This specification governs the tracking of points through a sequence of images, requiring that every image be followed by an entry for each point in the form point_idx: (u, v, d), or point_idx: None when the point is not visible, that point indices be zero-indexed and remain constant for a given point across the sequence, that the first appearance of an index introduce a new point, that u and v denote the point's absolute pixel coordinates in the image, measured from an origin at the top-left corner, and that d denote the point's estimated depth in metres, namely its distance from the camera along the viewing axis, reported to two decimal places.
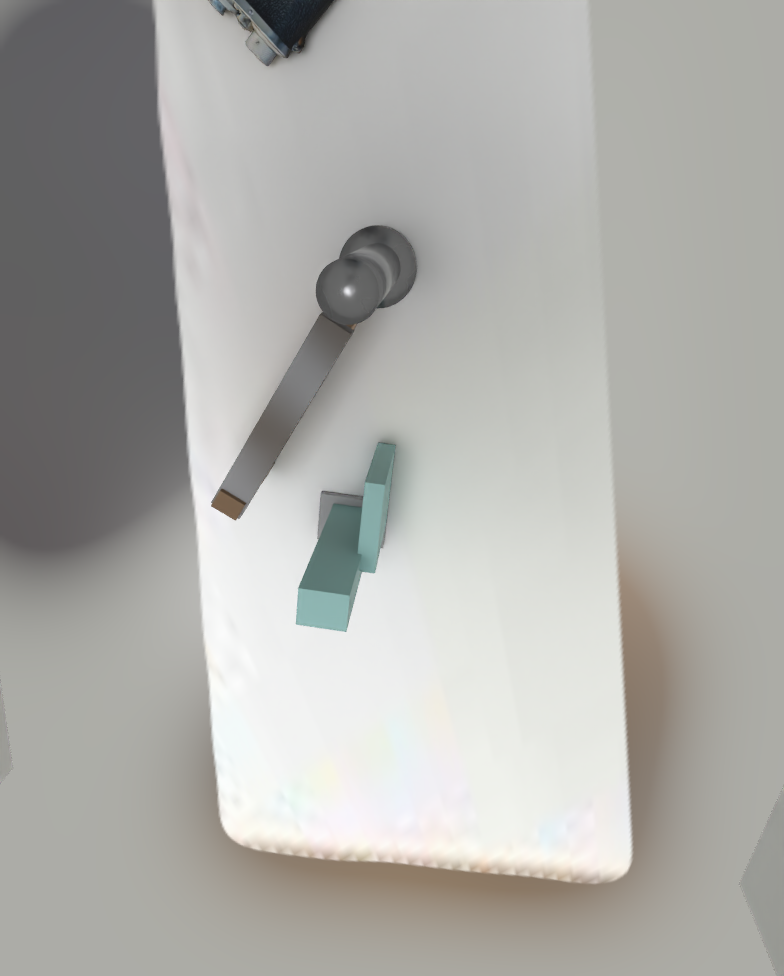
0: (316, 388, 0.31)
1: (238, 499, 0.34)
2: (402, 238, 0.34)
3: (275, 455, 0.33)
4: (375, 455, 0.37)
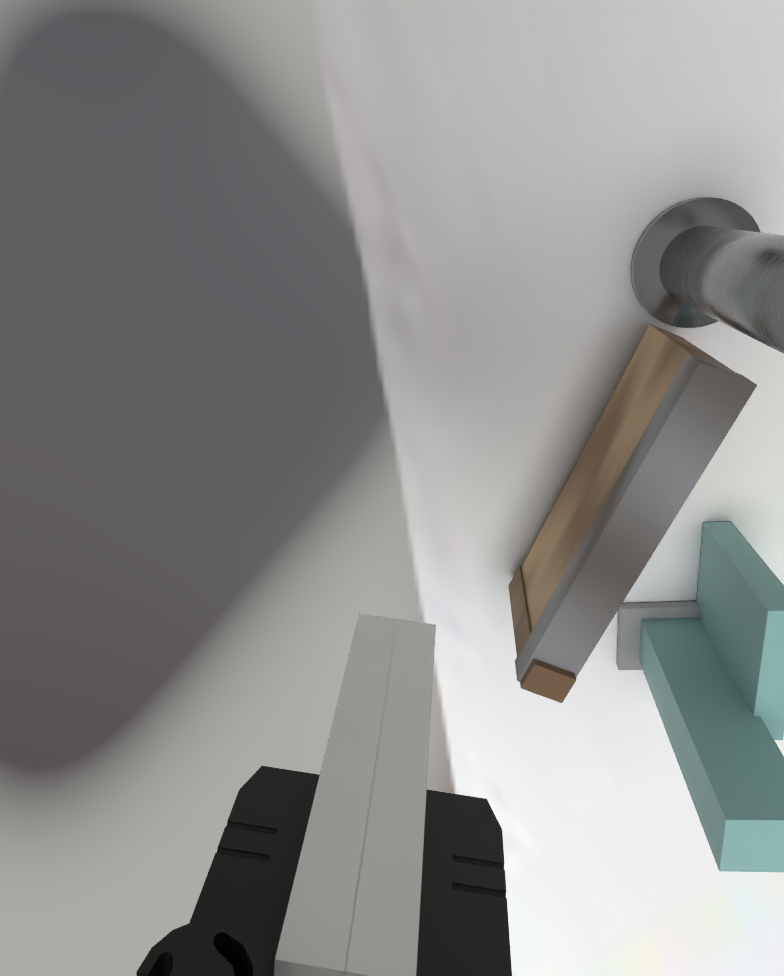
0: (693, 483, 0.19)
1: (563, 671, 0.21)
2: (739, 209, 0.21)
3: (621, 597, 0.20)
4: (725, 549, 0.24)
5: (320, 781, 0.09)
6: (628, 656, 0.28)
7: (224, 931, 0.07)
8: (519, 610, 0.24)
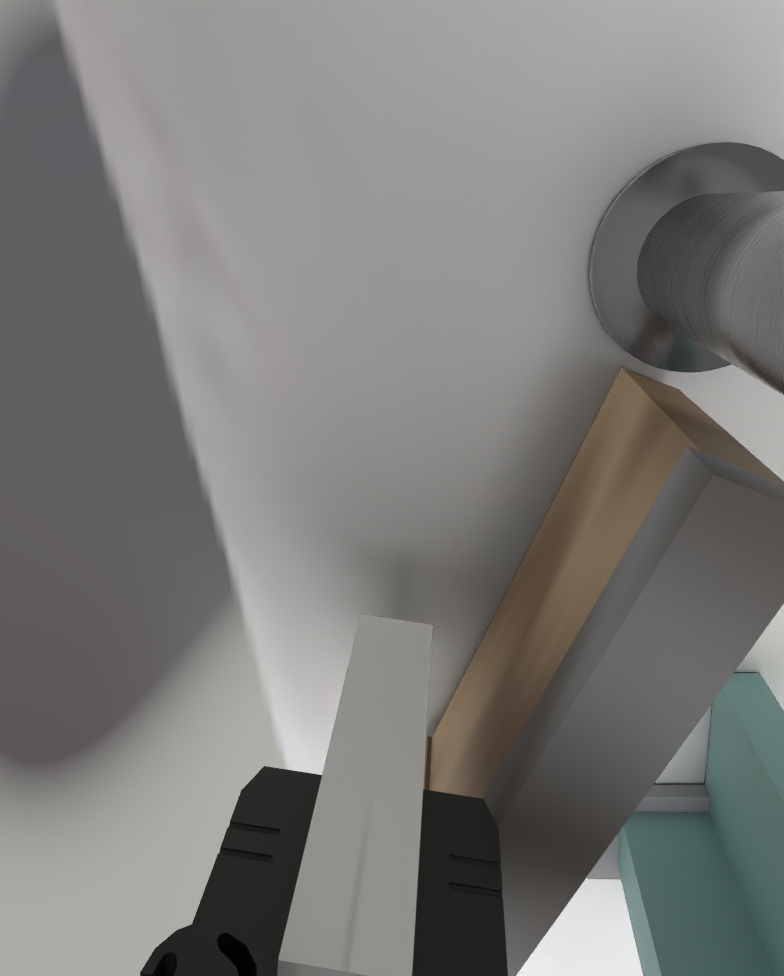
0: (699, 711, 0.09)
1: None
2: (779, 163, 0.12)
3: (565, 895, 0.11)
4: (753, 737, 0.14)
5: (323, 781, 0.09)
6: (601, 861, 0.18)
7: (228, 932, 0.07)
8: None
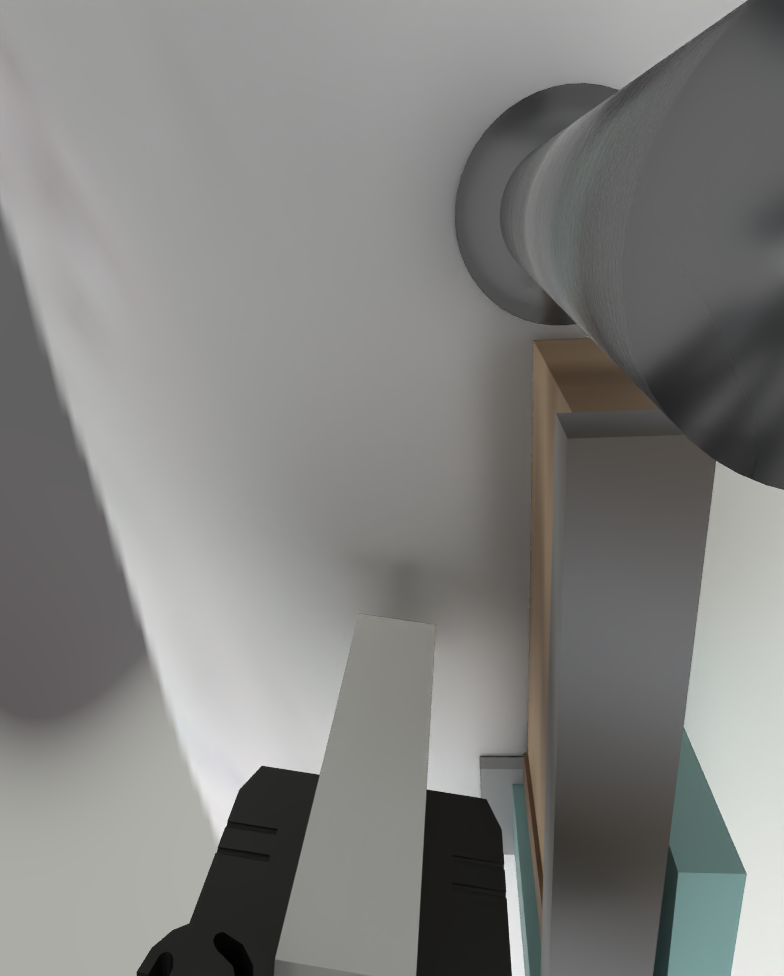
0: (685, 662, 0.08)
1: None
2: None
3: (657, 885, 0.10)
4: None
5: (320, 781, 0.09)
6: None
7: (224, 931, 0.07)
8: (533, 857, 0.14)
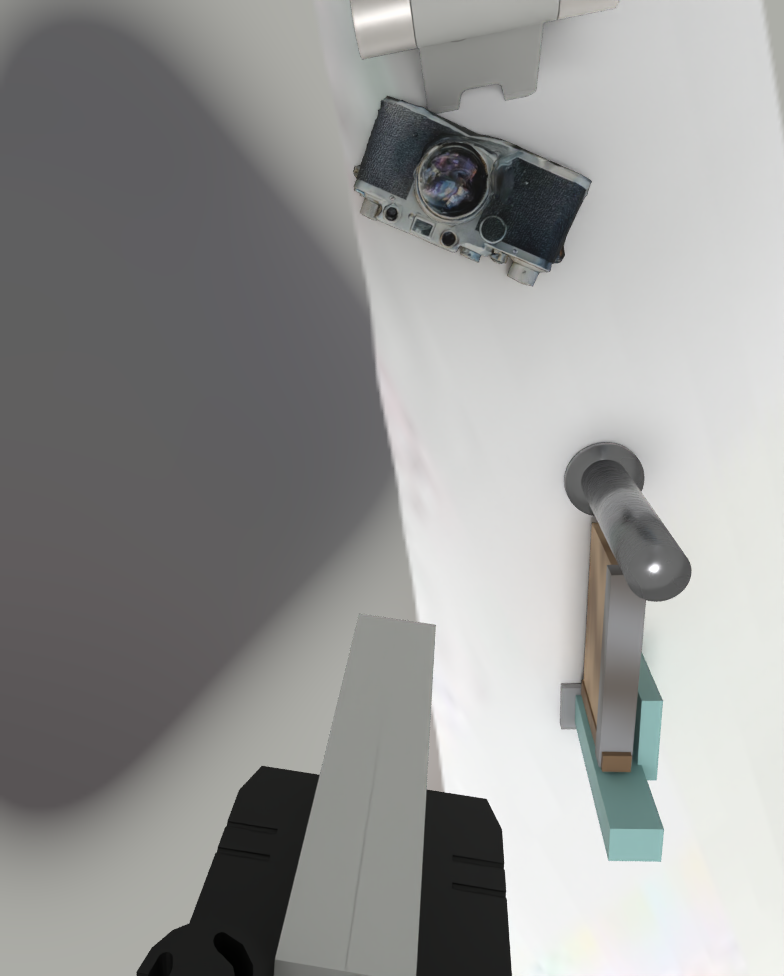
0: (641, 632, 0.32)
1: (622, 753, 0.34)
2: (628, 452, 0.35)
3: (635, 702, 0.33)
4: None
5: (320, 781, 0.09)
6: (567, 720, 0.41)
7: (224, 931, 0.07)
8: (589, 714, 0.37)
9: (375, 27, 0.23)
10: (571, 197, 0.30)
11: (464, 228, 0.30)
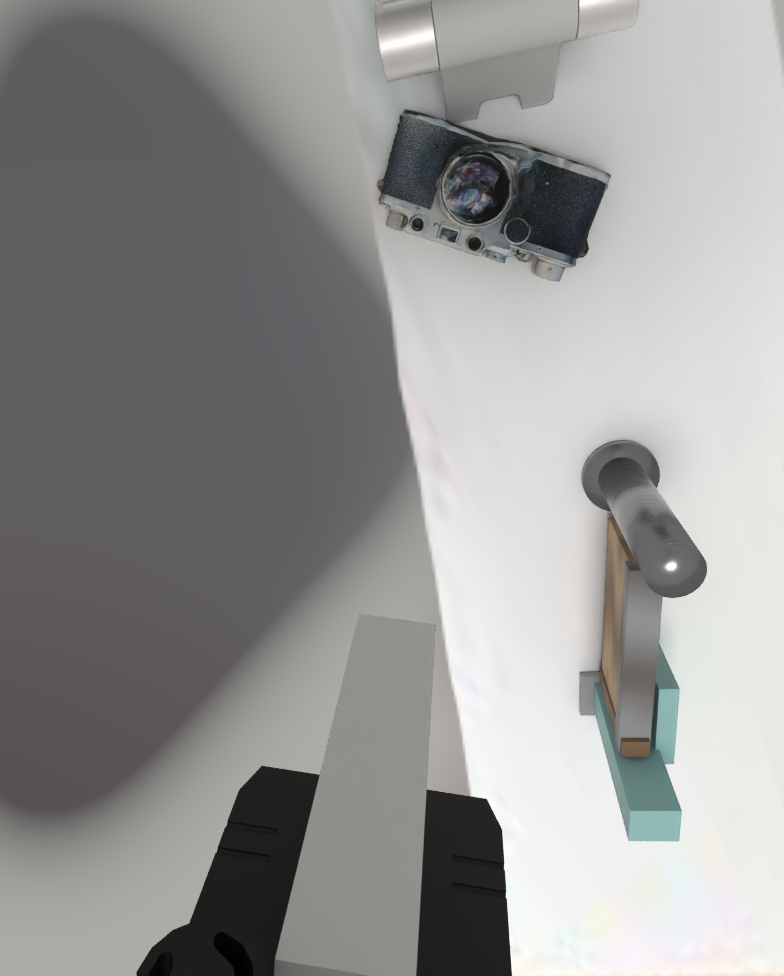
0: (658, 624, 0.33)
1: (641, 739, 0.36)
2: (643, 449, 0.36)
3: (652, 690, 0.35)
4: None
5: (320, 781, 0.09)
6: (586, 706, 0.43)
7: (225, 931, 0.07)
8: (608, 702, 0.39)
9: (400, 52, 0.23)
10: (592, 193, 0.30)
11: (489, 231, 0.31)
